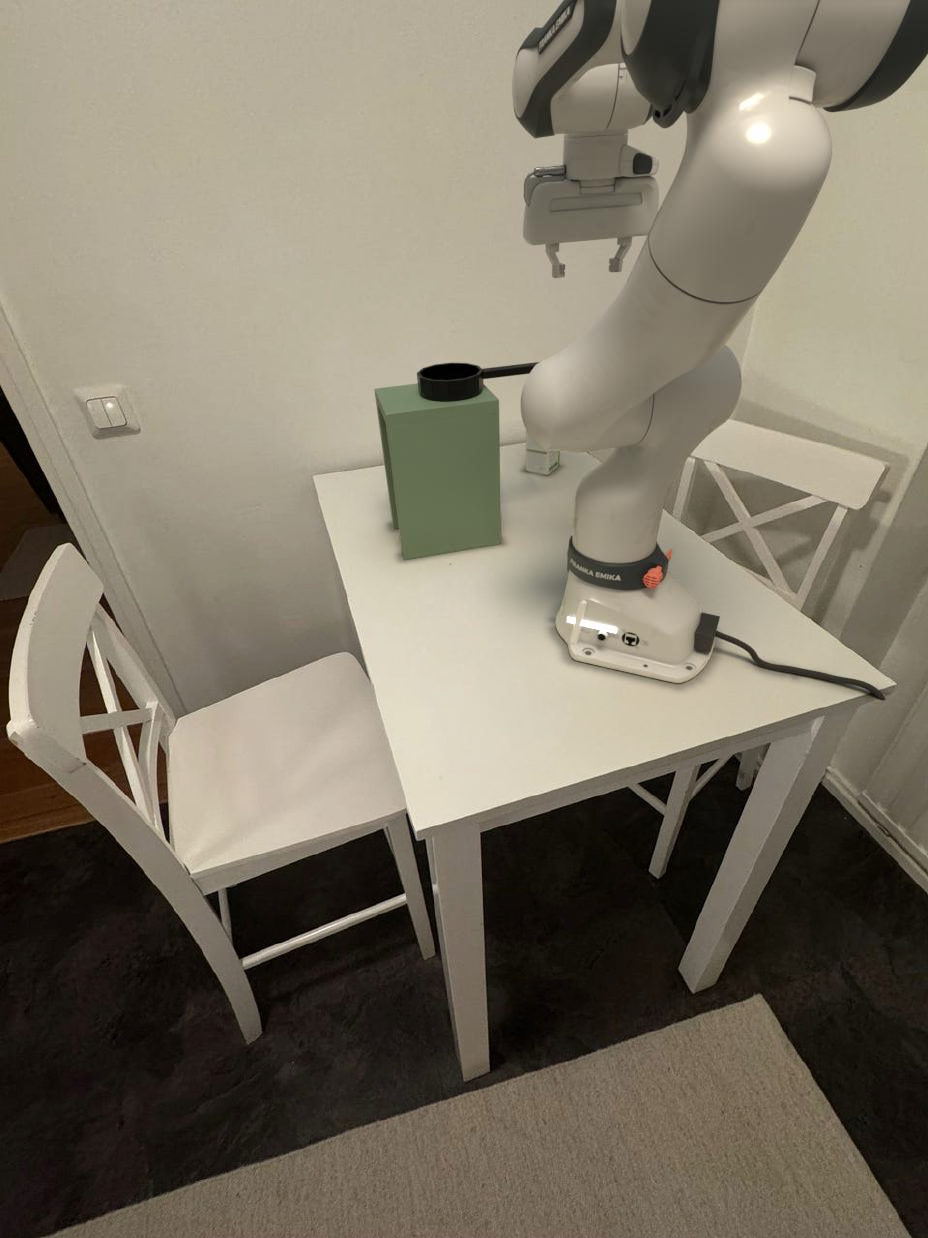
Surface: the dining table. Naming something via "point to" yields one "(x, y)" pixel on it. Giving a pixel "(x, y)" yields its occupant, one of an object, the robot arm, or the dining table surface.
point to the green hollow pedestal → (441, 470)
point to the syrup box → (540, 458)
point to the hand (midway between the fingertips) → (586, 274)
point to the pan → (461, 379)
